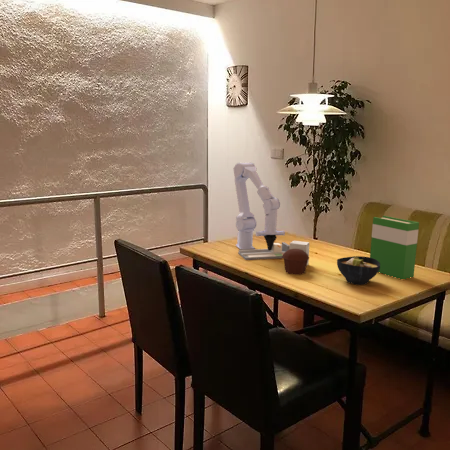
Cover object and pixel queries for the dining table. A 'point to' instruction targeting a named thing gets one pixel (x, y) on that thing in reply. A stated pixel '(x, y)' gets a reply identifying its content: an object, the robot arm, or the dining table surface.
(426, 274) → the dining table surface
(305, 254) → the muffin
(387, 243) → the hardback book
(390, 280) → the dining table surface
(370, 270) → the bowl
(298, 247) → the small box
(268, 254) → the gauge board
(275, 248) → the gauge slider
